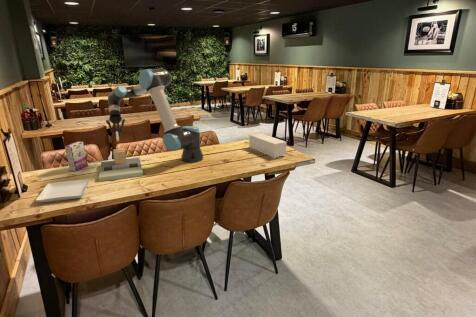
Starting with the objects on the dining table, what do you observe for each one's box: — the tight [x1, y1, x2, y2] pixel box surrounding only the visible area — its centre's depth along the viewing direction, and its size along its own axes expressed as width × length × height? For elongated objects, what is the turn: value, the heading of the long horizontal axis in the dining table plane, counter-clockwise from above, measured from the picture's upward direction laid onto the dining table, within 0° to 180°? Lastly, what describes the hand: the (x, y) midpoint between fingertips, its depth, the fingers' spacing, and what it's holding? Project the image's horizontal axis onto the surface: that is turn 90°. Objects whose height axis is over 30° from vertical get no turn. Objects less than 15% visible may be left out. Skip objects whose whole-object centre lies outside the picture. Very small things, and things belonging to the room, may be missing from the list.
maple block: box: [112, 148, 127, 165], centre depth 194 cm, size 7×7×8 cm
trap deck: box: [98, 157, 144, 182], centre depth 187 cm, size 30×24×2 cm
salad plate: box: [35, 179, 91, 203], centre depth 154 cm, size 21×21×3 cm
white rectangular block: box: [248, 132, 288, 159], centre depth 222 cm, size 32×11×11 cm, turn 32°
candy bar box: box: [64, 141, 88, 172], centre depth 189 cm, size 11×5×16 cm, turn 168°
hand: (117, 140), depth 207 cm, fingers closed
